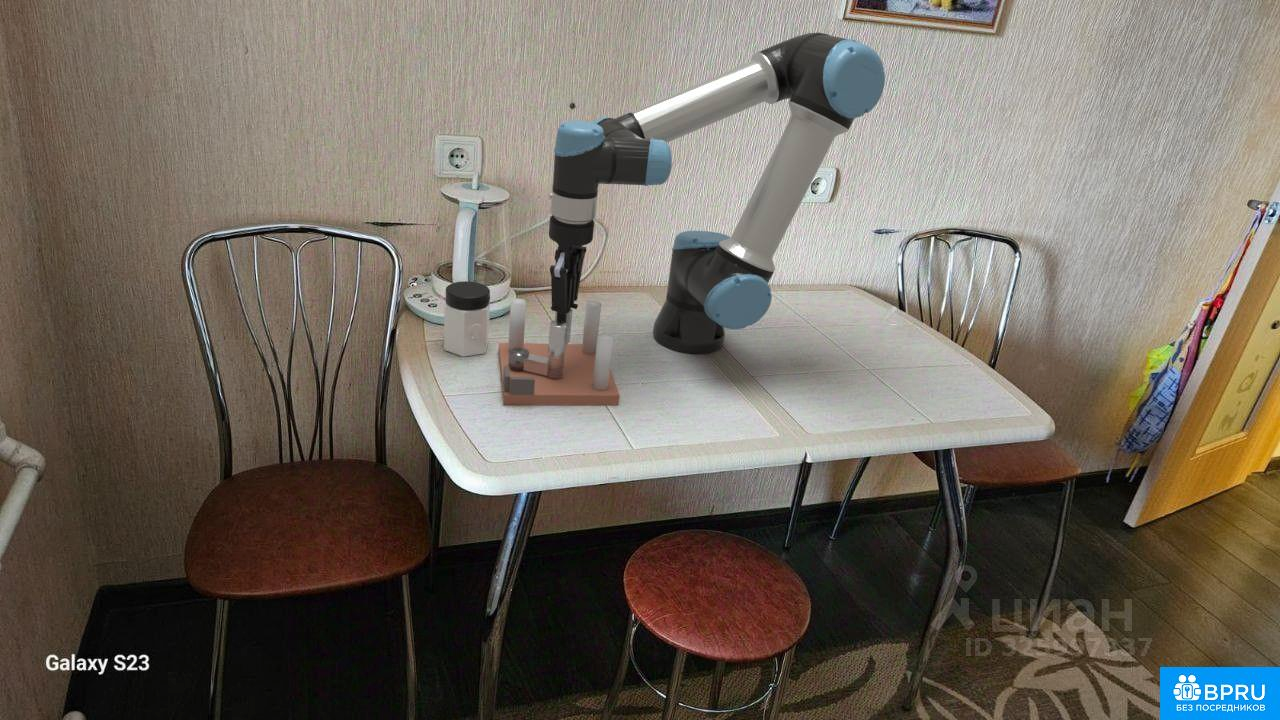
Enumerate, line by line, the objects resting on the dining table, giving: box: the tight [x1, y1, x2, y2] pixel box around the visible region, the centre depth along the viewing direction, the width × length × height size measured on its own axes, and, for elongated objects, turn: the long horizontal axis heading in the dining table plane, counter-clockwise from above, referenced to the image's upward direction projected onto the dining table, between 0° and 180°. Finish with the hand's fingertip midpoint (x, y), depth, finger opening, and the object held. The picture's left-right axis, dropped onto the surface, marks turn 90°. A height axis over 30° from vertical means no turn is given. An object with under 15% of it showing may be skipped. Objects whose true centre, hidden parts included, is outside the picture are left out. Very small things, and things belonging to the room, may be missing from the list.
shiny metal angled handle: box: [508, 320, 567, 379], centre depth 144 cm, size 10×4×10 cm, turn 76°
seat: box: [498, 297, 620, 406], centre depth 147 cm, size 20×20×12 cm
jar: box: [443, 281, 491, 358], centre depth 154 cm, size 9×8×12 cm
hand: (561, 341), depth 148 cm, fingers closed
